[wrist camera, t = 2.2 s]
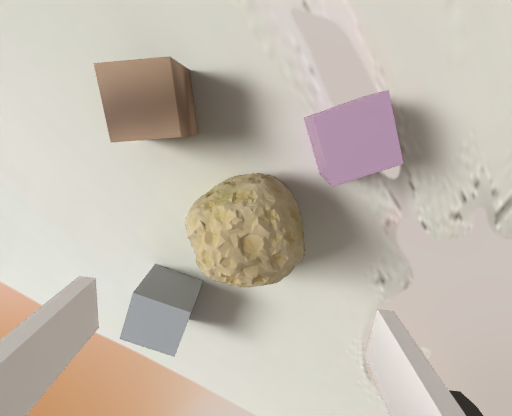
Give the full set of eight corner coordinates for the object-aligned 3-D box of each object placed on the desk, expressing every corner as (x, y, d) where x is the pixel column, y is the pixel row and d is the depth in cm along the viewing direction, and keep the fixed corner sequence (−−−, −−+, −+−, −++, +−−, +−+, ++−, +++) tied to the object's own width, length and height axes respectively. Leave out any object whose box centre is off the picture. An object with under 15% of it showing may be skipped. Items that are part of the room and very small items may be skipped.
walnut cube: (129, 75, 23) (93, 63, 18) (189, 70, 23) (169, 56, 18) (140, 138, 25) (110, 142, 20) (197, 134, 24) (181, 137, 19)
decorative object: (299, 226, 30) (353, 205, 21) (242, 307, 27) (277, 326, 17) (231, 170, 29) (256, 122, 20) (164, 246, 26) (157, 231, 17)
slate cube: (155, 263, 28) (133, 292, 23) (203, 280, 28) (190, 312, 24) (143, 303, 30) (119, 338, 25) (189, 319, 30) (174, 356, 25)
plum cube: (303, 117, 24) (313, 116, 19) (363, 96, 23) (388, 90, 18) (319, 174, 25) (332, 186, 20) (376, 155, 24) (403, 163, 20)
